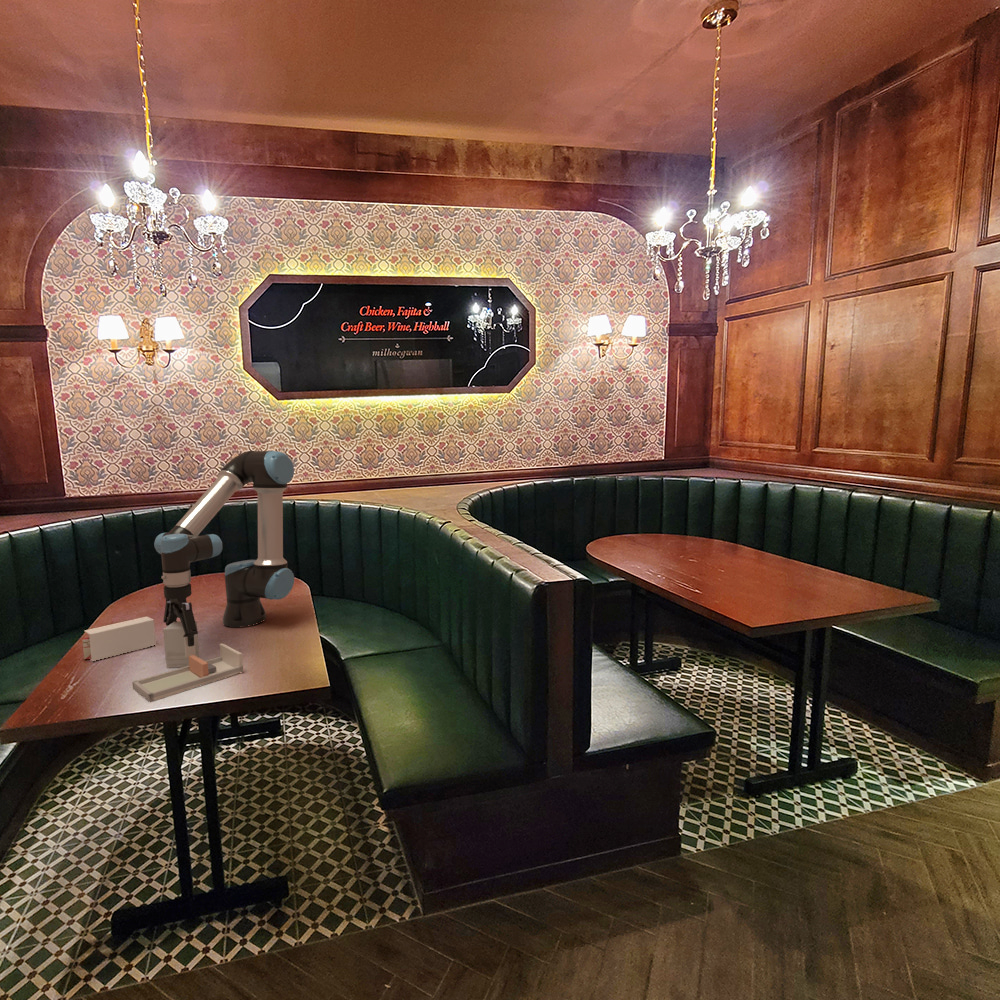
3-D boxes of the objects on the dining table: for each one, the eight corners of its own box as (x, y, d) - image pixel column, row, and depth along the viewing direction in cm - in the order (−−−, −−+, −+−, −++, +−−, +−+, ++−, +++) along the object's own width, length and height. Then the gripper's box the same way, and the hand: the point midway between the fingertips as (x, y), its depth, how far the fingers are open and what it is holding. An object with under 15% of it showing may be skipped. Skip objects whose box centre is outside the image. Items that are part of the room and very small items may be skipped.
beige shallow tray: (223, 661, 194) (222, 643, 194) (243, 672, 186) (242, 653, 185) (132, 688, 175) (131, 668, 175) (149, 701, 167) (147, 680, 166)
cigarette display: (149, 642, 212) (147, 616, 211) (156, 646, 209) (154, 619, 207) (82, 659, 197) (79, 631, 196) (88, 664, 194) (85, 635, 192)
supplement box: (200, 658, 197) (197, 620, 196) (189, 667, 190) (186, 628, 188) (177, 659, 197) (174, 620, 195) (165, 668, 190) (162, 628, 188)
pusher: (206, 665, 189) (205, 651, 188) (220, 673, 182) (219, 659, 182) (189, 670, 185) (188, 656, 185) (203, 679, 179) (202, 664, 178)
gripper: (149, 580, 196) (153, 644, 198) (180, 593, 179) (185, 663, 182) (174, 575, 201) (178, 638, 204) (207, 588, 185) (211, 656, 187)
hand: (181, 650), depth 193 cm, fingers open, 13 cm apart
